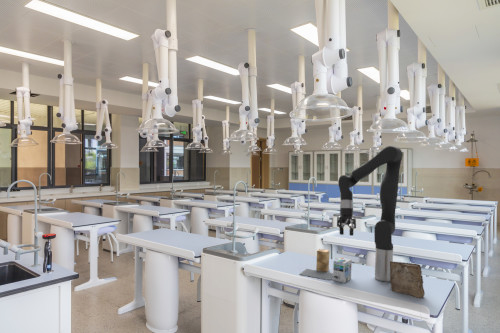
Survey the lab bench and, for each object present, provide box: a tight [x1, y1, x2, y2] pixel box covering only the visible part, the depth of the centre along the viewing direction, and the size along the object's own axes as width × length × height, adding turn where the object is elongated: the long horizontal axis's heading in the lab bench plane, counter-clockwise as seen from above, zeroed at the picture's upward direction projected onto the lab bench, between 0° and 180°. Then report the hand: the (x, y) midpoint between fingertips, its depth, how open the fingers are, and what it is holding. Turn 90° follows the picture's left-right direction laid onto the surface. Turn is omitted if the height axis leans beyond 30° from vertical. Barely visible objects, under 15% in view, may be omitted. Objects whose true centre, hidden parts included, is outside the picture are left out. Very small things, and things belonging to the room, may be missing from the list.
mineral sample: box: [389, 261, 426, 299], centre depth 163 cm, size 17×4×15 cm, turn 47°
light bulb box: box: [332, 257, 353, 284], centre depth 182 cm, size 11×7×11 cm, turn 143°
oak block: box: [315, 248, 330, 272], centre depth 198 cm, size 6×6×12 cm
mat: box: [299, 268, 333, 281], centre depth 189 cm, size 18×13×1 cm
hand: (346, 235), depth 195 cm, fingers open, 8 cm apart
